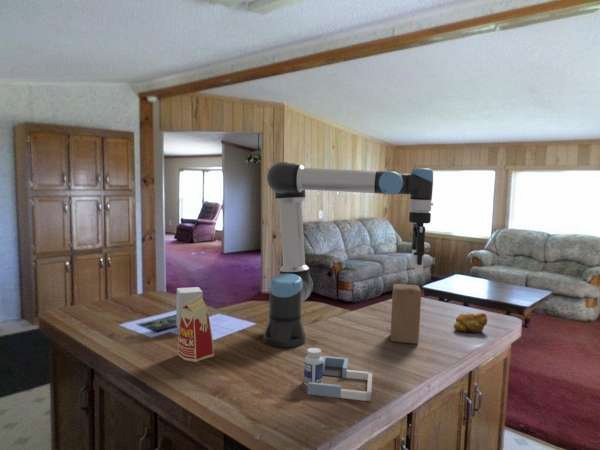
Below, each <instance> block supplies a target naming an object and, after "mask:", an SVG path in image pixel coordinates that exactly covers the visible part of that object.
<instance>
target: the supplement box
mask: <svg viewBox="0 0 600 450" xmlns="http://www.w3.org/2000/svg"><path fill="white" fill-rule="evenodd" d="M203 293H204V292H203V290H201V288H200V287H199V286H195V287H194V286H193V287H177V288H176V302H175V303H176V310H175V311H176V313H175V314H176V318H175V319H176V321H175V326H176V328H177V330H178V331H179V328H180V321H181V315H182V309H183V307H185V306H186V305H185V303H186V302H189V301H191V300H193V299H195V298H196V297H198V296H199V295H201V294H202V299H203V296H204V295H203ZM203 300H204V299H203Z"/></svg>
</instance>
